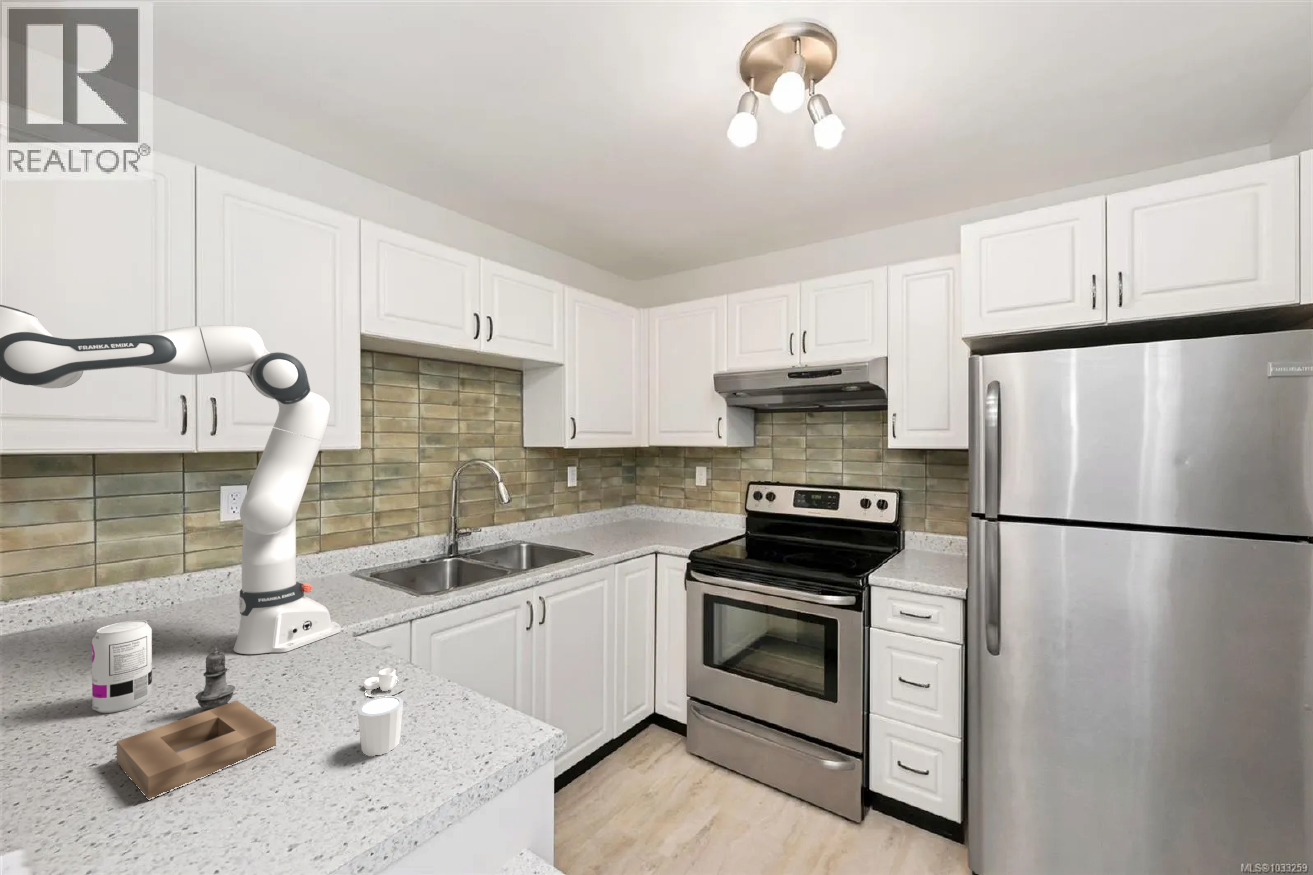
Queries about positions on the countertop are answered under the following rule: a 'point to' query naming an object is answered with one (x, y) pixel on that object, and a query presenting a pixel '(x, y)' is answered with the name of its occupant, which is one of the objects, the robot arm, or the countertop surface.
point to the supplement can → (121, 666)
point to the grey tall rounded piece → (215, 683)
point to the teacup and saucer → (381, 681)
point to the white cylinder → (380, 724)
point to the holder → (193, 747)
